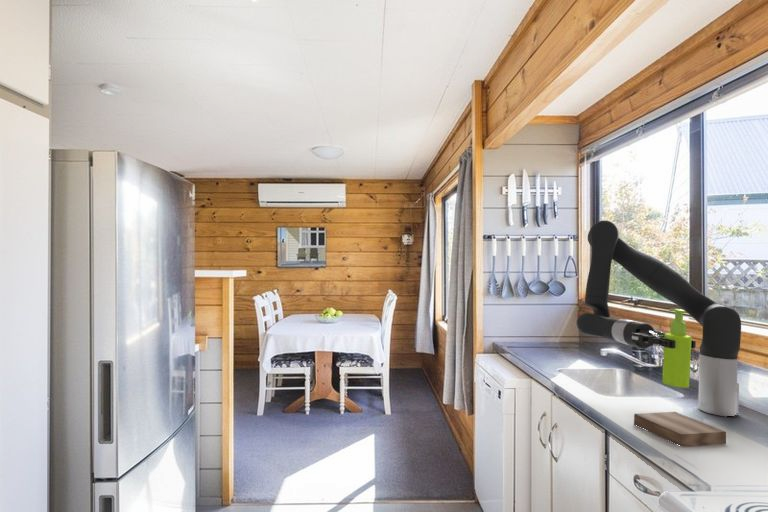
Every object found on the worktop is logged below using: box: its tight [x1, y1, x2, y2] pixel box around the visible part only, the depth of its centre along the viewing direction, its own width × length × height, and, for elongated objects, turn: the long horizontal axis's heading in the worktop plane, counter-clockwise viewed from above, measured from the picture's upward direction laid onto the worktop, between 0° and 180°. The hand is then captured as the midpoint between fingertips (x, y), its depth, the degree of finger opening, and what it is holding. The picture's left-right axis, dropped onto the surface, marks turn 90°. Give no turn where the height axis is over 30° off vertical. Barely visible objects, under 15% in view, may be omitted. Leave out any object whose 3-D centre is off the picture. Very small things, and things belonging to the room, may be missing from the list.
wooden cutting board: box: [633, 411, 727, 447], centre depth 109 cm, size 14×14×3 cm
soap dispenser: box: [661, 308, 693, 389], centre depth 110 cm, size 6×7×20 cm
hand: (684, 344), depth 108 cm, fingers closed on soap dispenser, 6 cm apart
